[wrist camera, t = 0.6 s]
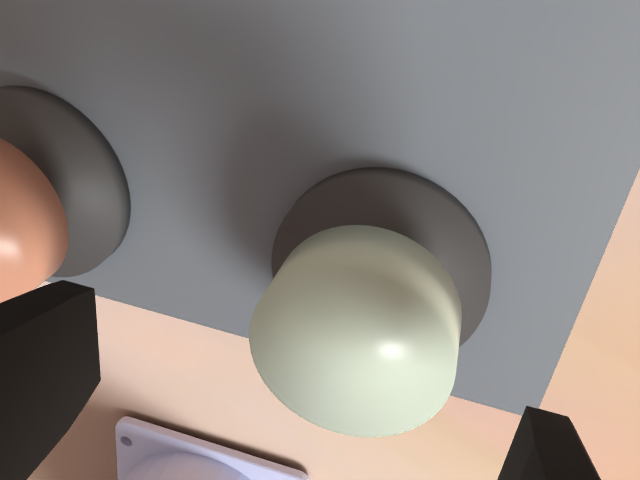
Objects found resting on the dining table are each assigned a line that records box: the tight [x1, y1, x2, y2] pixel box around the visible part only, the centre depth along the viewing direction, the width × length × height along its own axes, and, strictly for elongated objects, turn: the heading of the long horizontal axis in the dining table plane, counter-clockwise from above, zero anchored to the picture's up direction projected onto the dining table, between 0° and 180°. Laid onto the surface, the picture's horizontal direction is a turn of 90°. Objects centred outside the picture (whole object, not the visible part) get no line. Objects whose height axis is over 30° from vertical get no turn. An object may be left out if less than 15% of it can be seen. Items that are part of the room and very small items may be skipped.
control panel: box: [0, 0, 640, 415], centre depth 15 cm, size 17×20×3 cm
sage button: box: [249, 225, 462, 437], centre depth 14 cm, size 4×4×2 cm
